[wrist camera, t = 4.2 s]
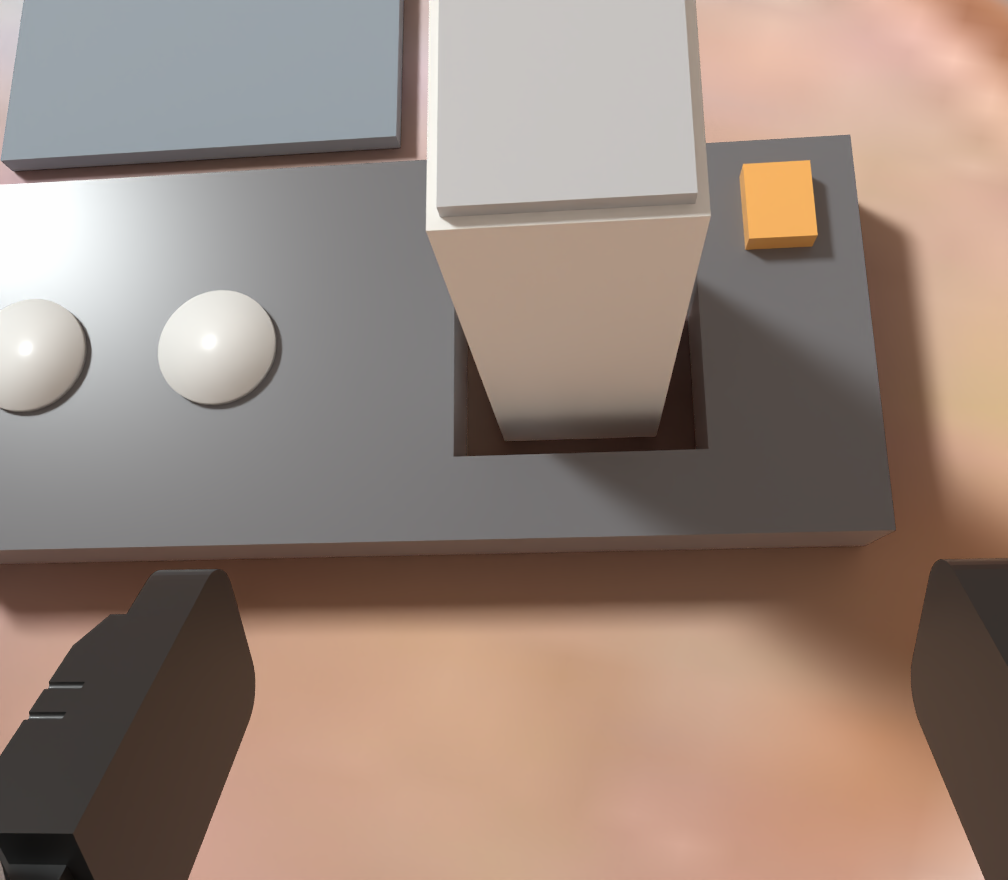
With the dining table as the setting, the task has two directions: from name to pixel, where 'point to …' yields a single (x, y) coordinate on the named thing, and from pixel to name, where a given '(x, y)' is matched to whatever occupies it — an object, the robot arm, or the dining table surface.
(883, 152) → the dining table surface
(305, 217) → the power strip
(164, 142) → the mat
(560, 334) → the white tall rectangular block
